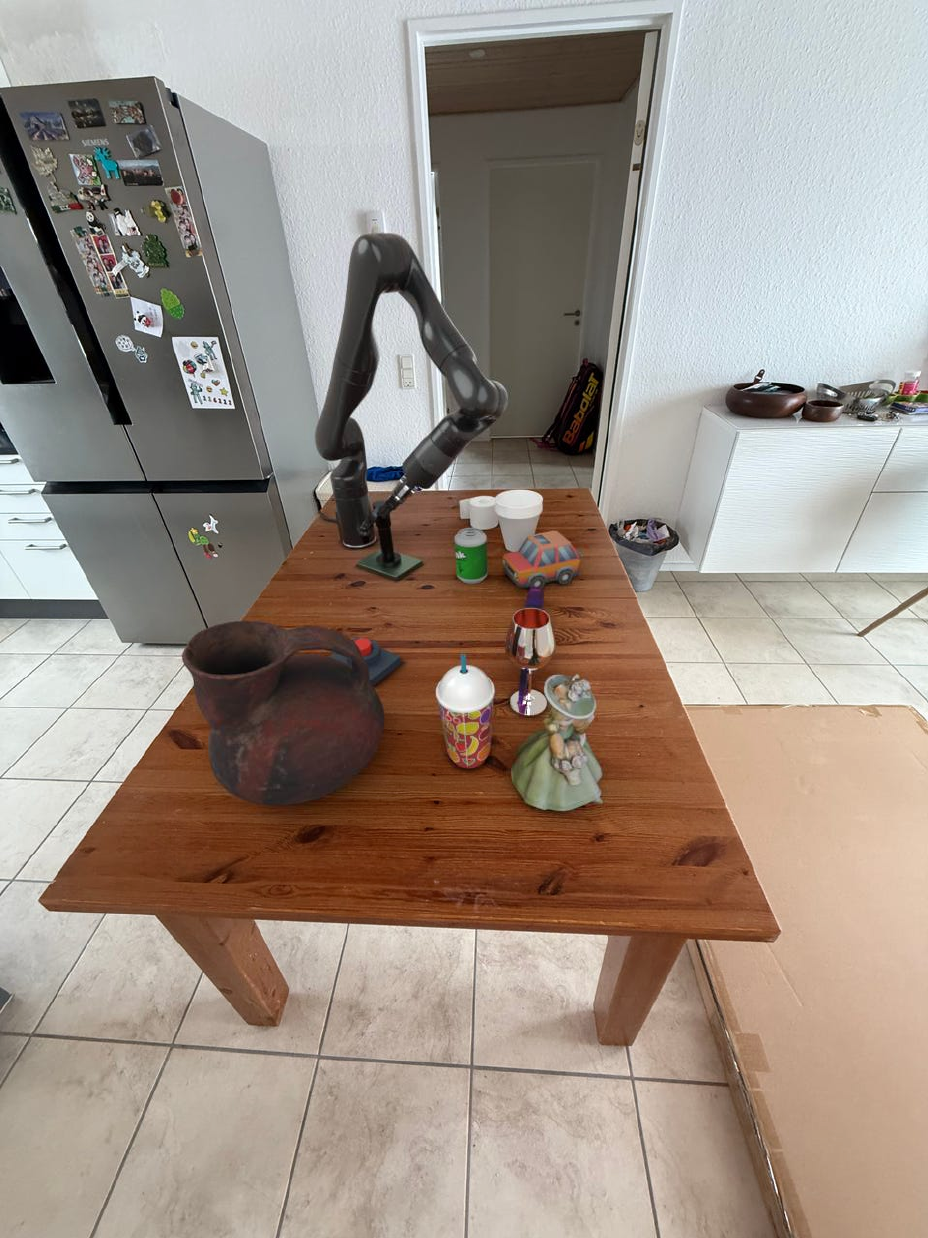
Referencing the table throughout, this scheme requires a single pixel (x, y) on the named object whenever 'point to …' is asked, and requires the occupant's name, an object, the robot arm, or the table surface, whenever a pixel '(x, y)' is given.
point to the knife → (536, 601)
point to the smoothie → (466, 713)
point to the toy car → (542, 561)
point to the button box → (375, 662)
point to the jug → (283, 710)
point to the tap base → (389, 559)
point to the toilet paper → (479, 512)
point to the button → (364, 646)
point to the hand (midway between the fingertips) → (381, 514)
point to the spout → (372, 519)
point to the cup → (518, 516)
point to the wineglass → (530, 654)
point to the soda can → (471, 555)
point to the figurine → (560, 751)
